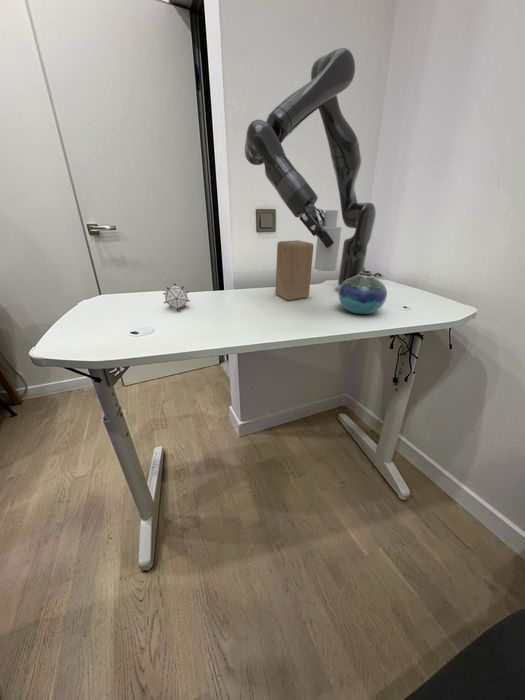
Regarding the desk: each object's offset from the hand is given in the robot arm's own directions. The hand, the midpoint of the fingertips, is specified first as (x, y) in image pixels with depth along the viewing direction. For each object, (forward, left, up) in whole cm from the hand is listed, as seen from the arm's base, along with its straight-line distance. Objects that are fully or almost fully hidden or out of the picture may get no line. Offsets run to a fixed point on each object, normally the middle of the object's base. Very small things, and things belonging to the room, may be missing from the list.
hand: (334, 243), depth 79 cm
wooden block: (-8, -27, -23) cm, 37 cm away
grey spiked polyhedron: (+35, -34, -23) cm, 54 cm away
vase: (-18, -2, -23) cm, 30 cm away
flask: (+1, -1, -7) cm, 7 cm away
